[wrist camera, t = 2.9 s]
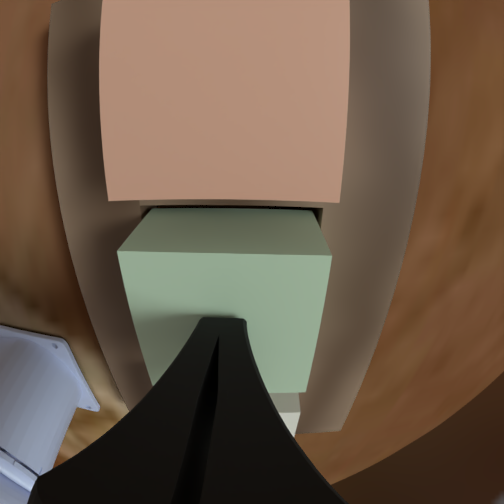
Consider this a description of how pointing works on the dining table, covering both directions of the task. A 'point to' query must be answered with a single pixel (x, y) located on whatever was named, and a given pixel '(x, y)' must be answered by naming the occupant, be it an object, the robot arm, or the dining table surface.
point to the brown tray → (327, 214)
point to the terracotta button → (224, 98)
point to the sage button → (229, 284)
